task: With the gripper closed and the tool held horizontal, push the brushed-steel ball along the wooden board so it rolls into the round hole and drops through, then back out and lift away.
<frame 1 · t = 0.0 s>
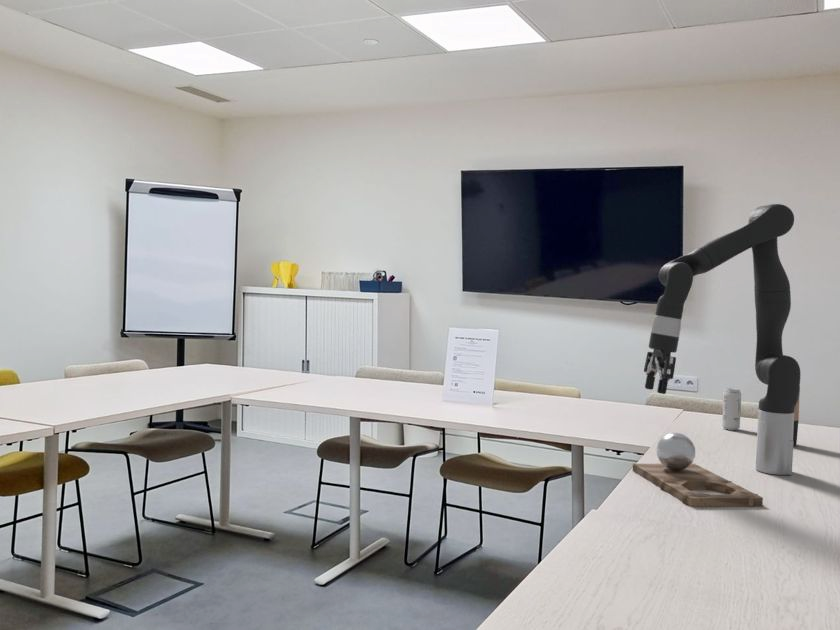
hand: (654, 391, 213), 22 cm above the table, tool pointing down, fingers open, 8 cm apart
energy drink can: (730, 429, 282), on the table
steel ball: (675, 451, 207), point 7 cm above the table, touching wooden board
wooden board: (692, 486, 197), on the table
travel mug: (784, 444, 257), on the table
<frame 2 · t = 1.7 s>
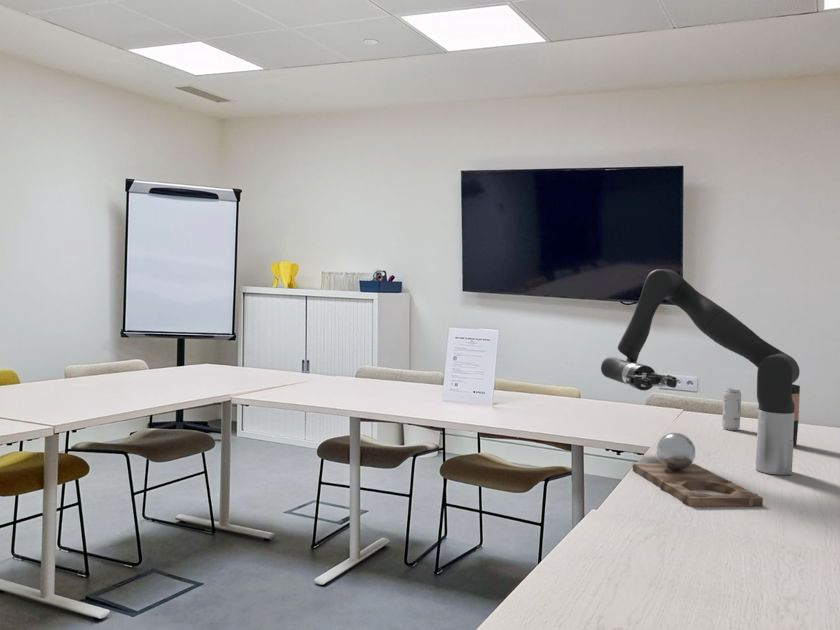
hand: (662, 383, 216), 24 cm above the table, tool horizontal, fingers open, 6 cm apart
nothing on the table moved.
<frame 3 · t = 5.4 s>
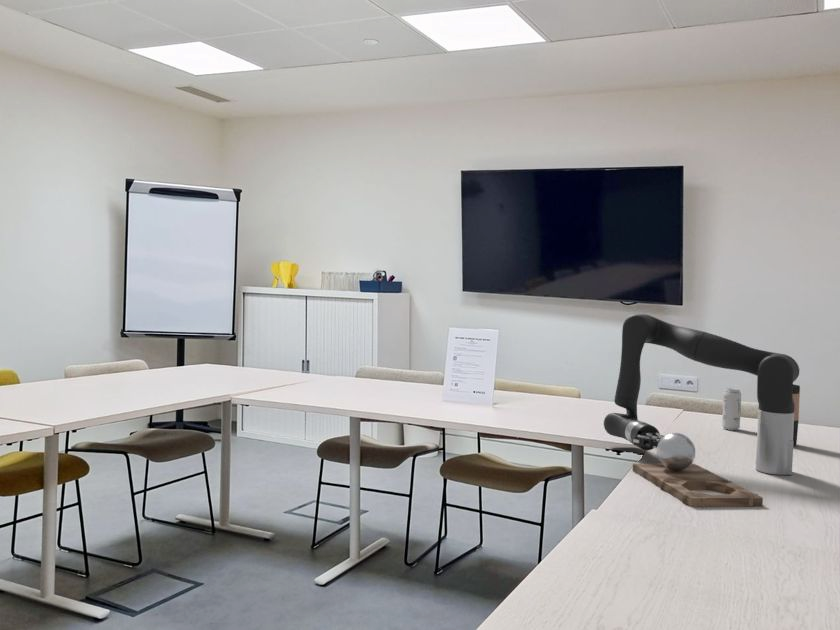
hand: (667, 447, 212), 7 cm above the table, tool horizontal, fingers closed
steel ball: (675, 451, 207), point 7 cm above the table, touching gripper, wooden board
everything else where it was.
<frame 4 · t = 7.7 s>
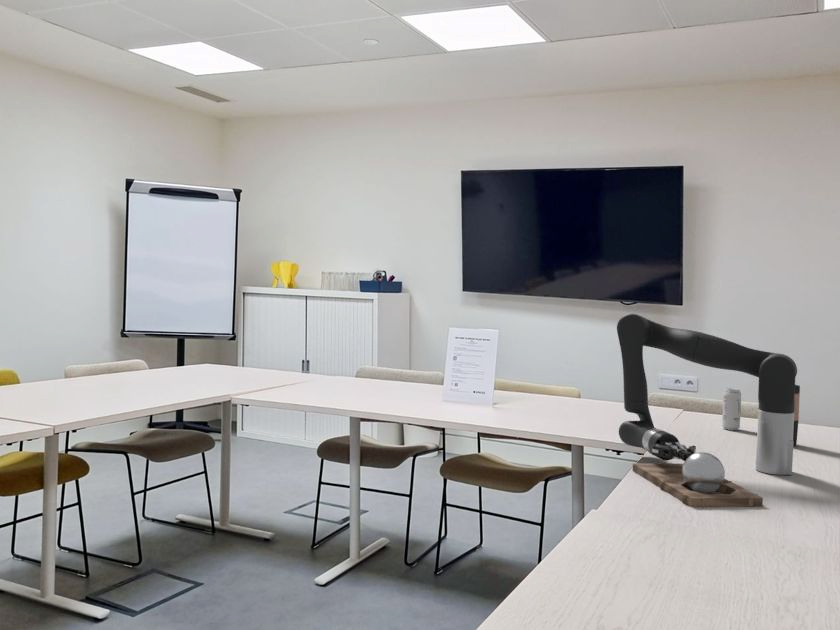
hand: (689, 457, 199), 7 cm above the table, tool horizontal, fingers closed
steel ball: (703, 472, 191), point 5 cm above the table, tilted 173°
everything else where it was.
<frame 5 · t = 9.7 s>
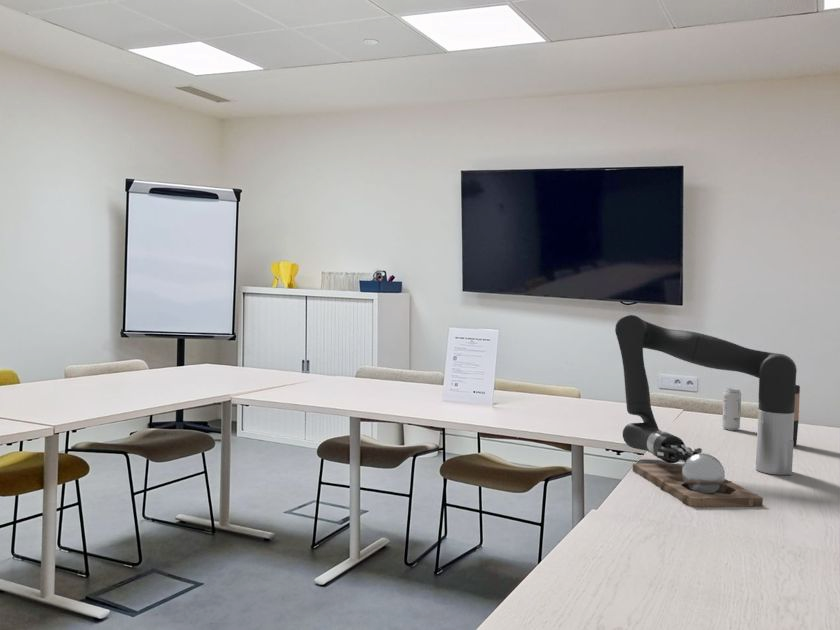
hand: (695, 460, 196), 7 cm above the table, tool horizontal, fingers closed
steel ball: (703, 473, 191), point 5 cm above the table, tilted 168°
everything else where it was.
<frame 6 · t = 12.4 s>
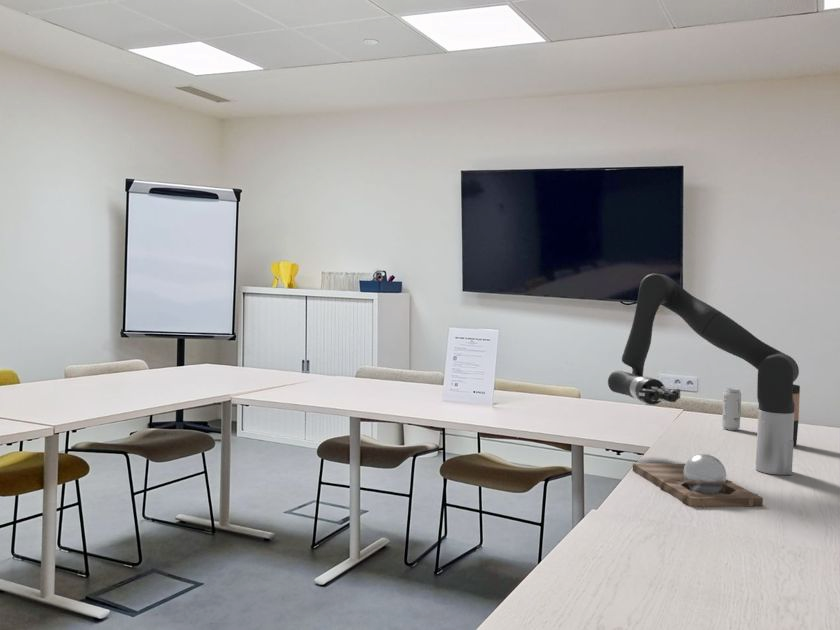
hand: (673, 398, 209), 21 cm above the table, tool horizontal, fingers closed
steel ball: (704, 474, 190), point 5 cm above the table, tilted 160°
everything else where it was.
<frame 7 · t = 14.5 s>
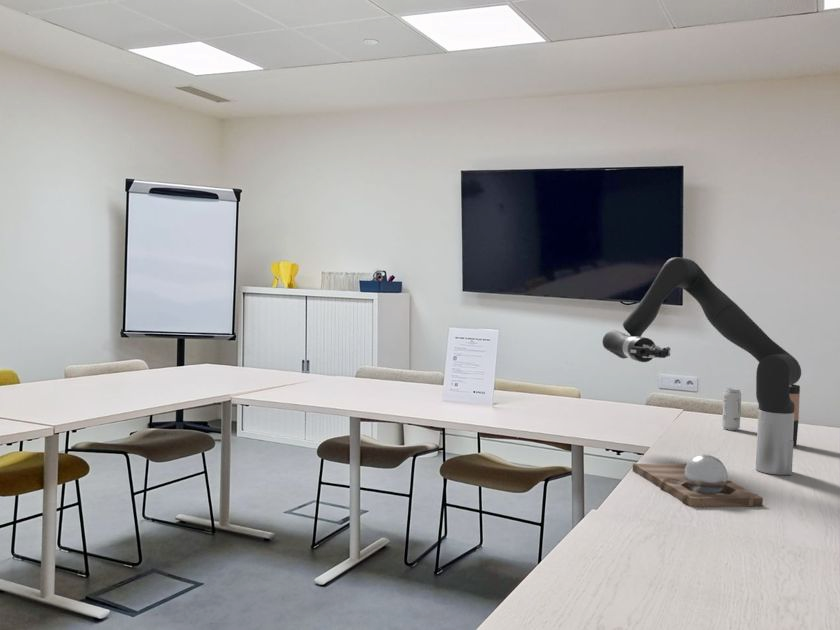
hand: (663, 354, 221), 32 cm above the table, tool horizontal, fingers closed
steel ball: (705, 475, 190), point 5 cm above the table, tilted 153°
everything else where it was.
at the end: steel ball 0.7 cm from the target spot on the wooden board, point 5.0 cm above the wooden board's base; steel ball moved 17.6 cm from its start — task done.
